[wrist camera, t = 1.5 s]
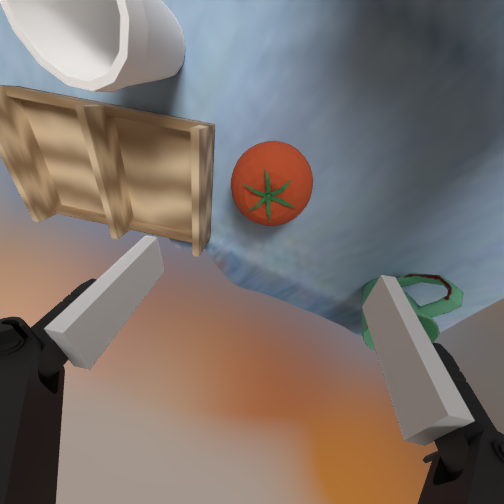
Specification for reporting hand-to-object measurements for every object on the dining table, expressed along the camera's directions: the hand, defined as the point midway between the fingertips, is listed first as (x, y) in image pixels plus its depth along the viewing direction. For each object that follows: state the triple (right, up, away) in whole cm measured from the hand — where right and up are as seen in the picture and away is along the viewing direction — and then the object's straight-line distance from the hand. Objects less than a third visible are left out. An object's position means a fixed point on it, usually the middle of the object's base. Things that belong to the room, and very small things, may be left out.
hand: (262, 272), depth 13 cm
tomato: (+3, +12, +18) cm, 22 cm away
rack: (-21, +14, +21) cm, 33 cm away
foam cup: (-11, +25, +12) cm, 30 cm away
